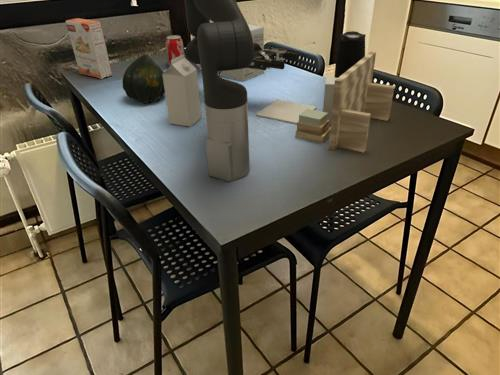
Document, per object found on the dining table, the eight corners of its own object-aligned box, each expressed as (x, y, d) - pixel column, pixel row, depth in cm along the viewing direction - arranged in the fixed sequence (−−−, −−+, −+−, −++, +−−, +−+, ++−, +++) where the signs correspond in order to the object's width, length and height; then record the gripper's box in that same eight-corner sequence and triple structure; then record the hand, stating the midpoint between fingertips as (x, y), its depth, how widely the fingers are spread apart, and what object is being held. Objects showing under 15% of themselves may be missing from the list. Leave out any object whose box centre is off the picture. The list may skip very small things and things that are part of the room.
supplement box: (217, 75, 157) (214, 28, 147) (239, 67, 165) (238, 22, 155) (242, 82, 149) (241, 33, 140) (265, 73, 157) (264, 26, 148)
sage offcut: (319, 126, 104) (319, 119, 103) (298, 121, 107) (299, 114, 105) (327, 119, 107) (327, 112, 106) (306, 115, 110) (307, 108, 109)
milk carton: (169, 124, 119) (159, 59, 108) (181, 115, 124) (173, 52, 114) (190, 127, 117) (182, 61, 106) (201, 117, 122) (195, 54, 112)
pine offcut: (322, 145, 106) (323, 136, 104) (295, 139, 109) (295, 130, 108) (331, 136, 110) (331, 128, 109) (304, 130, 114) (304, 122, 112)
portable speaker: (340, 88, 141) (346, 29, 130) (364, 93, 135) (373, 33, 125) (327, 94, 135) (332, 34, 125) (352, 101, 130) (360, 38, 119)
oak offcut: (320, 136, 105) (321, 127, 103) (296, 130, 108) (297, 122, 106) (329, 128, 108) (329, 120, 107) (305, 123, 112) (306, 115, 110)
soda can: (178, 70, 164) (174, 39, 158) (165, 67, 167) (161, 37, 161) (189, 65, 169) (185, 36, 162) (176, 63, 172) (173, 34, 166)
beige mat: (297, 124, 116) (297, 123, 116) (256, 115, 122) (256, 114, 122) (316, 108, 126) (316, 106, 125) (277, 100, 132) (277, 99, 132)
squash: (118, 94, 125) (143, 53, 123) (112, 83, 137) (134, 45, 135) (156, 116, 134) (181, 79, 131) (147, 104, 146) (169, 69, 143)
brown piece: (361, 156, 99) (371, 85, 89) (328, 149, 103) (334, 80, 93) (390, 116, 119) (401, 55, 109) (362, 111, 123) (370, 51, 113)
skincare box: (336, 125, 115) (340, 84, 108) (321, 124, 116) (324, 84, 109) (337, 116, 120) (340, 77, 113) (322, 116, 121) (325, 76, 114)
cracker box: (78, 74, 162) (64, 20, 151) (91, 71, 166) (78, 17, 155) (100, 80, 156) (87, 23, 144) (113, 76, 160) (101, 20, 148)
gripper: (229, 47, 115) (279, 54, 108) (254, 36, 125) (301, 42, 118) (231, 73, 119) (279, 81, 112) (255, 60, 129) (300, 67, 122)
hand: (290, 61), depth 115 cm, fingers open, 8 cm apart
